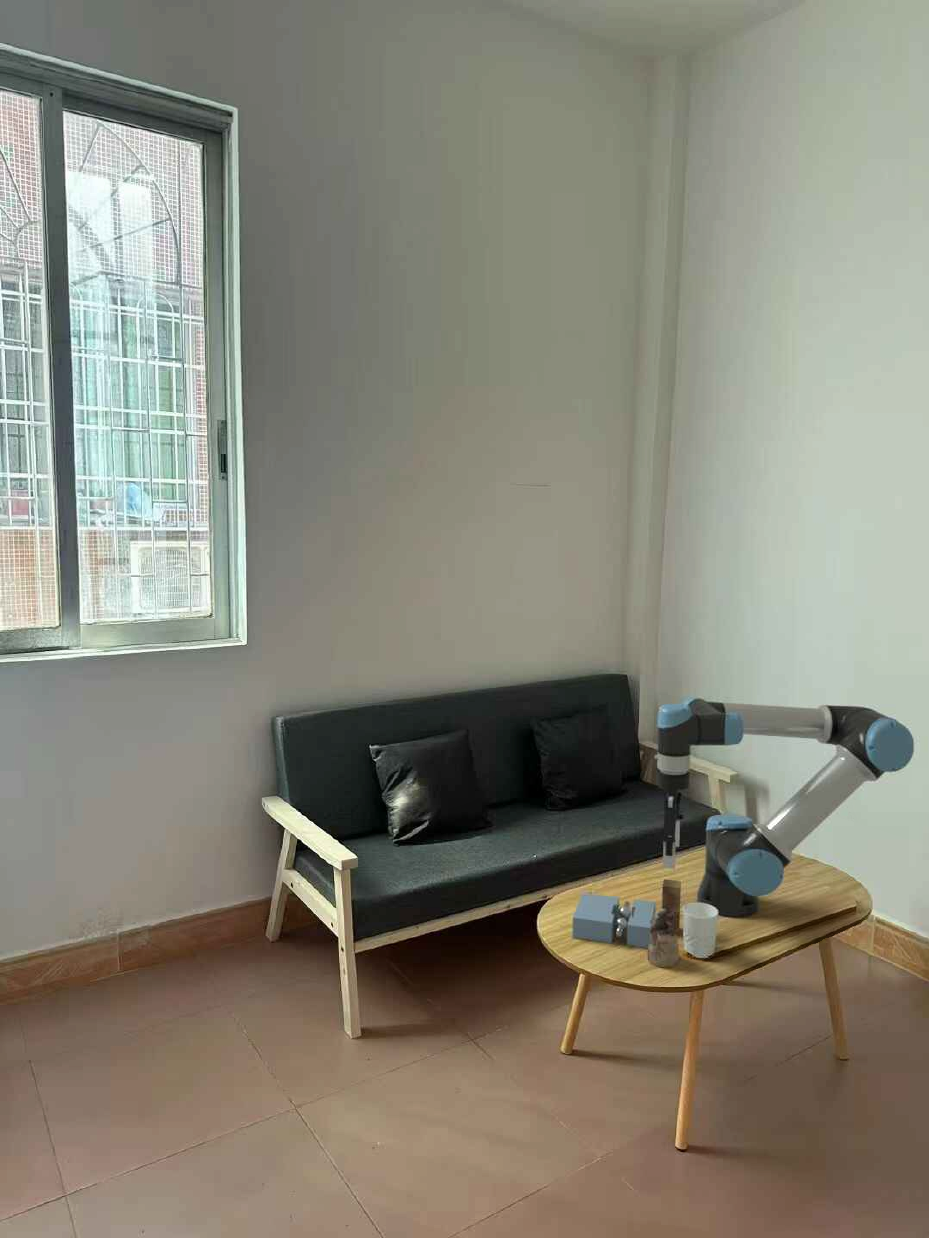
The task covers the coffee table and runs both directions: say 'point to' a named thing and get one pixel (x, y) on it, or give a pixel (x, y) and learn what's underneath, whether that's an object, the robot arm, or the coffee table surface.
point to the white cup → (699, 929)
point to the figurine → (663, 940)
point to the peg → (672, 899)
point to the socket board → (612, 919)
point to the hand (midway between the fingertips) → (671, 856)
